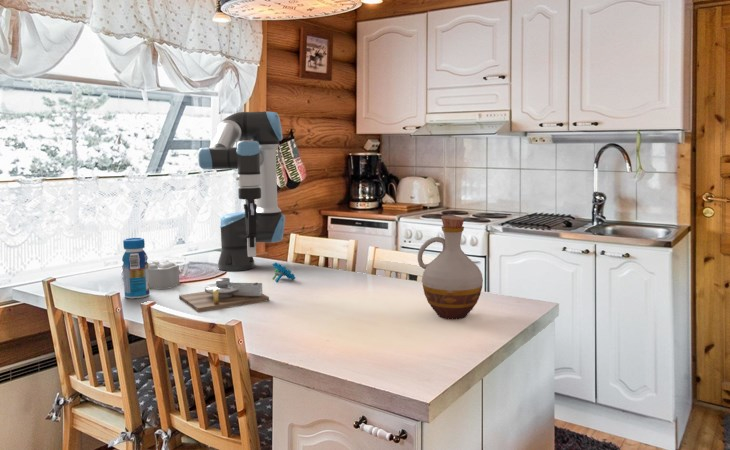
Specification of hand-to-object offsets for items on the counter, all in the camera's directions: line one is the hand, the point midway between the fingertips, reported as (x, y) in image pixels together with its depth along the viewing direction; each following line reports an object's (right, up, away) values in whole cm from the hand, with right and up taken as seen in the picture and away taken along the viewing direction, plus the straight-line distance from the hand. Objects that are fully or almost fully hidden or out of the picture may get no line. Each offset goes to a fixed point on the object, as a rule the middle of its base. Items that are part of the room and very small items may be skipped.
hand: (251, 256), depth 206 cm
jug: (+64, -17, -25) cm, 71 cm away
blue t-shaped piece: (+8, -11, +24) cm, 27 cm away
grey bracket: (-5, -12, -4) cm, 14 cm away
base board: (-9, -14, -3) cm, 17 cm away
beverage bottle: (-40, -14, +3) cm, 43 cm away
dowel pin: (-9, -15, -13) cm, 22 cm away
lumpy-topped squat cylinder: (-38, -12, +19) cm, 44 cm away
